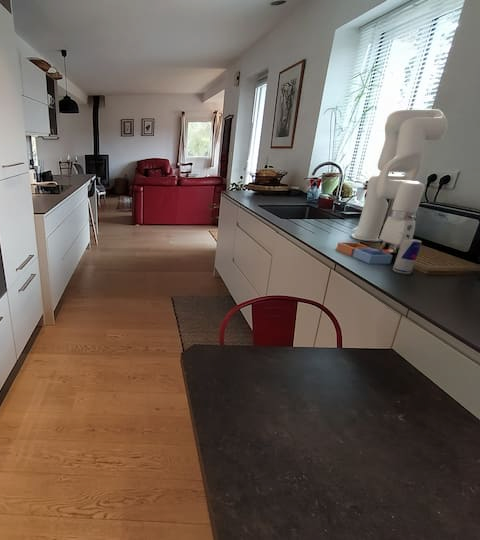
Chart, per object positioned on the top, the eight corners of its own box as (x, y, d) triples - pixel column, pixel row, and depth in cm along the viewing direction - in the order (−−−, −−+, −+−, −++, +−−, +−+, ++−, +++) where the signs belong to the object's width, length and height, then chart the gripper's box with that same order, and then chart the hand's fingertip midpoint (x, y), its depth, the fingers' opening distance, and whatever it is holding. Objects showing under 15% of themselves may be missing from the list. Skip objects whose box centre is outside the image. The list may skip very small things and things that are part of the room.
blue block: (362, 257, 134) (365, 248, 132) (371, 257, 134) (374, 248, 132) (370, 260, 130) (373, 251, 128) (379, 260, 130) (382, 251, 129)
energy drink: (411, 275, 116) (423, 243, 112) (392, 272, 119) (403, 240, 115) (410, 271, 120) (421, 240, 116) (392, 268, 123) (402, 237, 119)
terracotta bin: (336, 249, 145) (338, 242, 144) (355, 249, 146) (357, 242, 144) (350, 255, 137) (352, 248, 136) (370, 255, 137) (372, 248, 136)
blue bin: (352, 256, 136) (354, 248, 135) (372, 256, 136) (374, 248, 135) (368, 263, 127) (371, 255, 126) (390, 263, 128) (392, 255, 127)
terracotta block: (378, 258, 134) (381, 249, 133) (388, 258, 134) (391, 249, 133) (386, 261, 130) (390, 252, 129) (396, 261, 131) (399, 252, 129)
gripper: (431, 219, 118) (414, 266, 125) (393, 211, 134) (379, 253, 140) (412, 219, 118) (396, 266, 124) (375, 211, 134) (363, 253, 140)
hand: (387, 259), depth 132 cm, fingers closed on terracotta block, 4 cm apart
